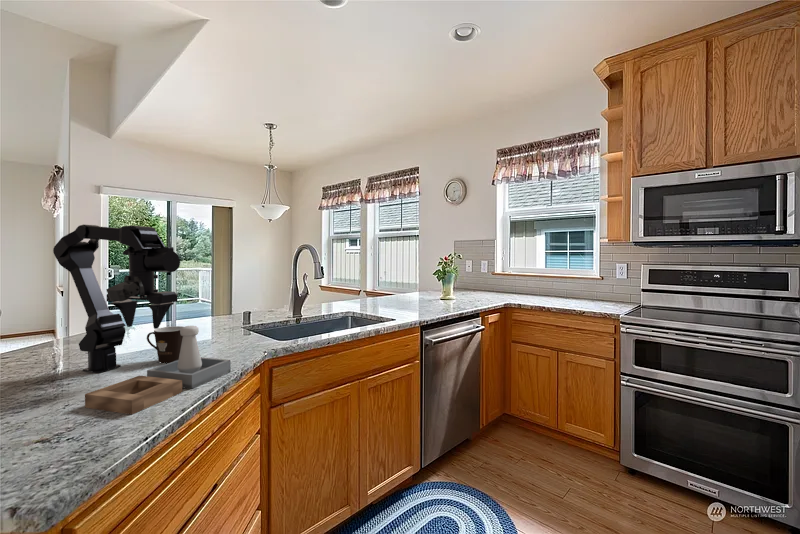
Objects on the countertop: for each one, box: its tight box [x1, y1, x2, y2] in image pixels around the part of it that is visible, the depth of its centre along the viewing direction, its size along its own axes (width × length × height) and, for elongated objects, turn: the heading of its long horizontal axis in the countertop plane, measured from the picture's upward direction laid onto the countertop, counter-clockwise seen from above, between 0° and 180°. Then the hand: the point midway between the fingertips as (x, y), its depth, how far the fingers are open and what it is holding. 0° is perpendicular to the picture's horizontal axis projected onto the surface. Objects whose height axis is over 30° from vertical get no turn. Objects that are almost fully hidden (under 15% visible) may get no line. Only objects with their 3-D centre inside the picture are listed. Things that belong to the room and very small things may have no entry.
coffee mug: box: [146, 325, 184, 364], centre depth 119 cm, size 12×9×10 cm
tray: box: [146, 356, 232, 390], centre depth 102 cm, size 14×14×4 cm
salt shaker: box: [177, 325, 202, 374], centre depth 102 cm, size 6×6×13 cm
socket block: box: [84, 375, 183, 415], centre depth 87 cm, size 13×13×3 cm
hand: (142, 327), depth 105 cm, fingers open, 9 cm apart
